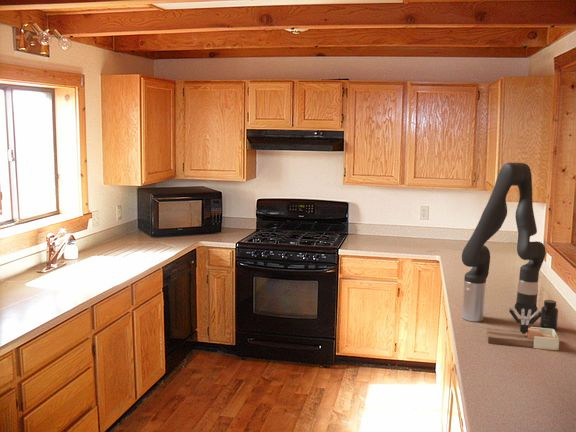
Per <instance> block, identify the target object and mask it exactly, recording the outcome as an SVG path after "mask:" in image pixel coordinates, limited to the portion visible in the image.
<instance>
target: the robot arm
mask: <svg viewBox="0 0 576 432" xmlns="http://www.w3.org/2000/svg"><path fill="white" fill-rule="evenodd" d="M493 186H494V187H493V190H492V192H491V194H490V196H489V199H488V202H487V204H486V205H485V207H484V209H483V212H482V213H481V216H480V218H479V220H478V223H477V225H476V227H475V228H474V230H473V233H472V235H471V236H470V238H469V240H468V241H467V242H466V244H465V246H464V248H463V250H462V253H461V261H462V264H463V265H464V266H466V267H471V269H470V270H469V271H467V272H466V273H464V279H463V280H464V281H463V296H462V297H463V298H462V307H461V309H462V310H461V318H462V320H465V321H469V322H482V321H484V316H485V315H484V314H485V303H486V302H485V301H486V285H487V278H488V276H489V271H490V264H491V253H490V250H489V248H488V247H487V245H485V244H486V243H487V241H489V240H490V239H491V238H492V237H493V236H494V235H496V233H498V231H500V229H501V228H502V226H503V224H504V222H505V220H506V218H507V216H508V205H507V196H508V193H509V191H510V189H511V187H512V186H513V187H514V186H515V187H516V186H517V188H518V192H519V200H518V203H517V206H516V210H515V222H516V228H517V243H516V252H517V255H518V256H519V258H520V259H521V260H524V261H528V262H527V263H524V264H523V265H521V266H520V270H519V277H518V283H517V290H516V301H515V302H516V303H515V304H514V306H513V307H512V308H511V307H509V309H508V313H510V314H511V316H512V317H513V319H514V321H515V322H516V323H517V324H520V326H519V331H521V332H522V334H526V333H527V332H528V328H529V326H530V325H533V324H535V323H536V322H537V321H538V320H539V319H540V317H541V316H542V312H541V310H539V307H538V306H537V304H538V294H539V293H538V292H539V276H540V270H541V268H542V265H543V263H544V260H545V257H546V251H547V250H546V246H545V245H544V243H542V242H541V241H531V237H532V236H535V235H536V234H537V233H538V229H537V228H538V227H537V223H536V218H535V213H534V207H533V206H534V204H533V203H534V202H533V177H532V171H531V168H530V166H529V165H528V164H527V163H523V162H506V163H503V165H502V166H501V168H500V170H499V172H498V175H497V178H496V181H495V184H494V185H493ZM516 313H517V314H518V315H520V316H519V317H520V318H519V317H518V316H517V314H516ZM534 314H535V315H534ZM531 316H533V317H532V318H531Z"/></svg>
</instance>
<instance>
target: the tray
mask: <svg viewBox="0 0 576 432" xmlns="http://www.w3.org/2000/svg"><path fill="white" fill-rule="evenodd" d="M529 328H531V329H537V330H540V331H541V333H542V334H547V335H553V337H554V338H547V337H536V336H534V339H533V340H534V347H533V349H539V350H549V351H559V348H560V337H559V336H558V334H557V333H556V330H554V329H548V328H541V327H534V326H530V327H529Z"/></svg>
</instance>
